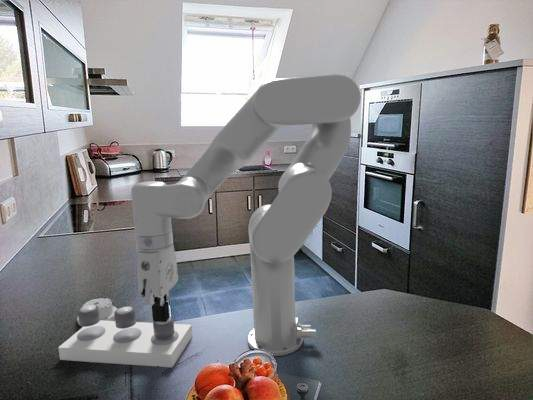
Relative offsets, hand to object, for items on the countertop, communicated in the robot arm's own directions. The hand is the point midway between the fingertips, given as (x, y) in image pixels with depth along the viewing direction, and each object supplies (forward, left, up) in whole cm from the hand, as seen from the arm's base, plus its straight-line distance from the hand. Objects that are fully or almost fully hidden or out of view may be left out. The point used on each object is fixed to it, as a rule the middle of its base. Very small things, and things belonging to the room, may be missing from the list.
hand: (161, 319), depth 85 cm
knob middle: (+9, 0, -1) cm, 9 cm away
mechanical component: (+24, -12, -8) cm, 28 cm away
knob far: (+18, 0, -1) cm, 18 cm away
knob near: (0, 0, -3) cm, 3 cm away
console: (+9, 0, -7) cm, 11 cm away
